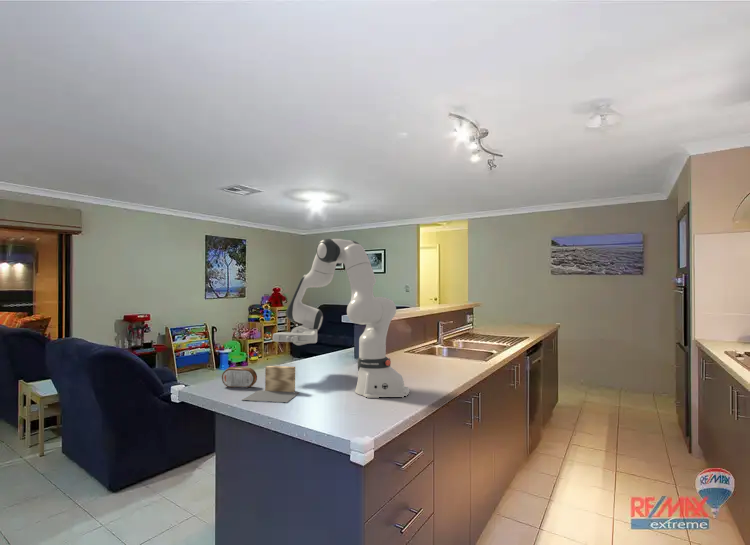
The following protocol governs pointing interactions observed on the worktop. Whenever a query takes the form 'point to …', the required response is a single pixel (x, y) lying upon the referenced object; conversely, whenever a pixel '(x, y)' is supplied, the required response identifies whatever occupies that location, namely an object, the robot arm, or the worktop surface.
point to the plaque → (280, 378)
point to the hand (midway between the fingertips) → (289, 339)
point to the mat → (271, 396)
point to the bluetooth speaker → (239, 377)
